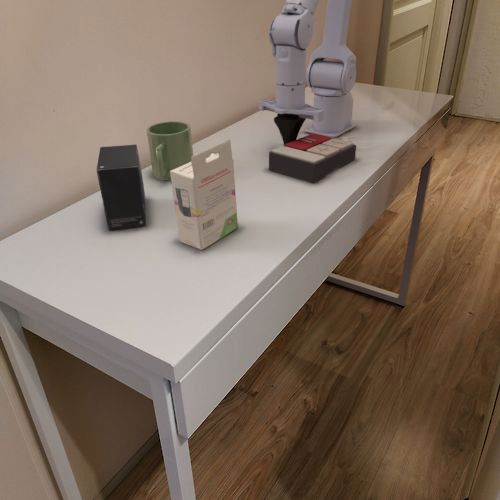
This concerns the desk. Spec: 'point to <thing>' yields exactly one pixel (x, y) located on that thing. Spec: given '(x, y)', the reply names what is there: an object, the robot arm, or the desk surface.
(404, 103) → the desk surface
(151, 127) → the mug
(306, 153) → the calculator
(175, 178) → the ink box
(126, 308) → the desk surface
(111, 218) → the small box
